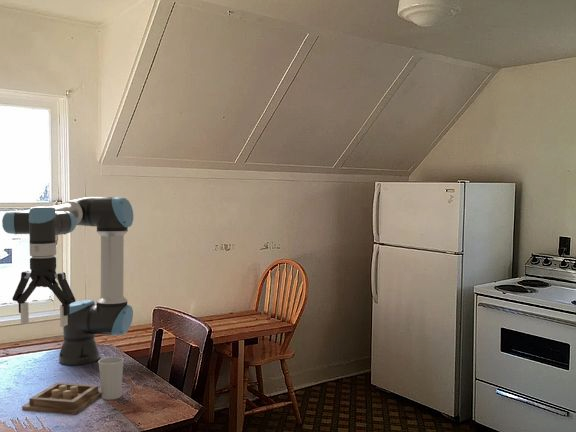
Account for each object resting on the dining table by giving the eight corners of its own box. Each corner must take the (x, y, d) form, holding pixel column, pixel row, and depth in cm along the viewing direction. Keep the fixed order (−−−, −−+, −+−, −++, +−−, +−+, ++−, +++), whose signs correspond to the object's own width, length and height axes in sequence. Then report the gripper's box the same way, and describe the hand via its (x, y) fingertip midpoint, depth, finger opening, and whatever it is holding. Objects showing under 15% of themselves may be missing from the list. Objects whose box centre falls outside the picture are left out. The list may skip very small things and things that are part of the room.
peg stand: (55, 389, 196) (55, 377, 196) (104, 393, 193) (104, 381, 192) (22, 409, 178) (21, 396, 178) (75, 414, 175) (75, 401, 175)
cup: (116, 401, 185) (116, 364, 185) (94, 399, 187) (93, 363, 186) (128, 392, 193) (128, 357, 192) (106, 390, 195) (106, 355, 194)
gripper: (-1, 256, 176) (0, 325, 178) (72, 259, 171) (73, 329, 173) (15, 254, 184) (16, 319, 185) (86, 256, 179) (87, 323, 180)
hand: (44, 324), depth 179 cm, fingers open, 13 cm apart
